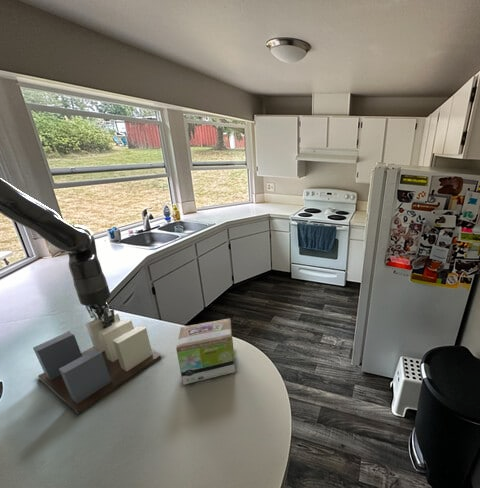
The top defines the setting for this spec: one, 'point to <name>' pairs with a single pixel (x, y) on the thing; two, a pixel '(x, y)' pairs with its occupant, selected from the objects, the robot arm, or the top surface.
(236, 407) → the top surface
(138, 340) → the cream book
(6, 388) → the top surface
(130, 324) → the cream book
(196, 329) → the tea box
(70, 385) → the grey book
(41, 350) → the grey book
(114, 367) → the shelf board
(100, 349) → the cream book
